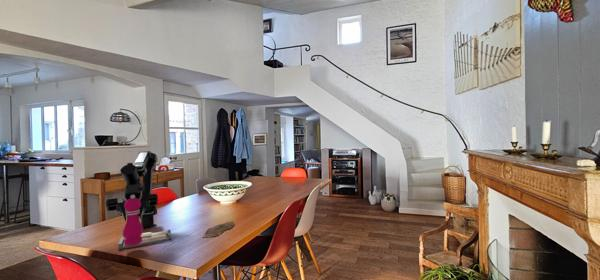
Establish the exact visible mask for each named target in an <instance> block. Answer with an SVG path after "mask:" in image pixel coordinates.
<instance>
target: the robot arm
mask: <svg viewBox="0 0 600 280" xmlns="http://www.w3.org/2000/svg"><path fill="white" fill-rule="evenodd" d="M158 161H159V160H158V155H157V154H156V153H153V152H151V150H140V151H139V152H138V156H137V158H136V159H135V161H134V162H127V163H126V164H125V165H124V166H122V167H121V168H120V170H119V171H120V174H121V176H122V178H123V181H124V182H126V183H125V186H124V187H125V191H124V198H123V199H122V198H121V199H119V198H118V197H112V198H111V197H110V198H107V199H106V200H105V205H106V206H105V207H106V211H108V212H113V211H116V212H120V214H121V215H122V217H123V220H124V221H125V222H127V215H126V209H125V208H124V204H125V202H126V201H127V200H128V199H131V198H130V196H131V195H135V198H137V199H139V200H140V201H141V206H140V208H139V209H140V213H139V220H140V223H141V225H142V227H143V230H144V229H145V230H146V229H150V228H153V227H156V226H157V224H156V223H155V222H154V219H155V218H154V216H156V215H158V208H157V205H159V197H158V195H159V194H158V193H157V192H156V193H152V190H153V171H154V169H155V168H156V167H157V163H158ZM141 178H142V179H141Z"/></svg>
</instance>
